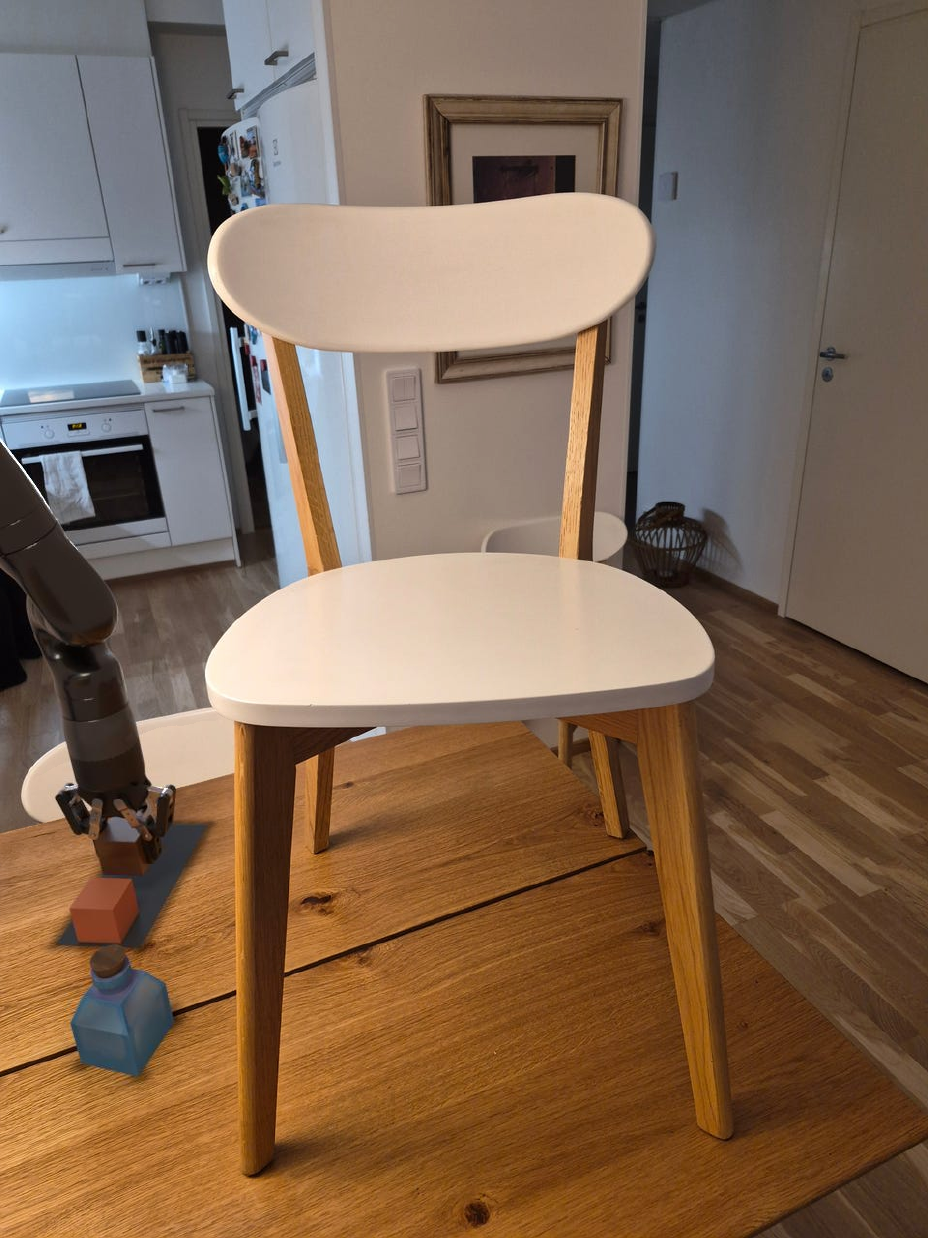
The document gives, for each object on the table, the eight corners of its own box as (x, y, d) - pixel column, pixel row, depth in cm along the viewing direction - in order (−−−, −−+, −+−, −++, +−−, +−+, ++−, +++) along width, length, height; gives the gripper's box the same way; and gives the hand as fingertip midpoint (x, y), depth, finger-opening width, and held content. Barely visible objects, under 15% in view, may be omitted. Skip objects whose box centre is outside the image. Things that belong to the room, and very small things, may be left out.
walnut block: (102, 875, 99) (94, 841, 96) (121, 847, 103) (113, 814, 101) (143, 876, 98) (135, 842, 96) (159, 848, 103) (152, 815, 101)
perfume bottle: (83, 1069, 80) (56, 977, 75) (121, 1016, 85) (99, 928, 80) (139, 1082, 78) (116, 989, 74) (175, 1028, 84) (155, 938, 79)
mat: (56, 950, 94) (45, 911, 91) (137, 827, 114) (130, 793, 111) (141, 953, 93) (132, 914, 91) (208, 829, 113) (202, 794, 111)
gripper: (177, 724, 97) (199, 840, 103) (59, 722, 98) (89, 838, 104) (151, 760, 90) (176, 882, 97) (24, 757, 91) (58, 879, 98)
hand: (131, 858), depth 100 cm, fingers closed on walnut block, 5 cm apart
